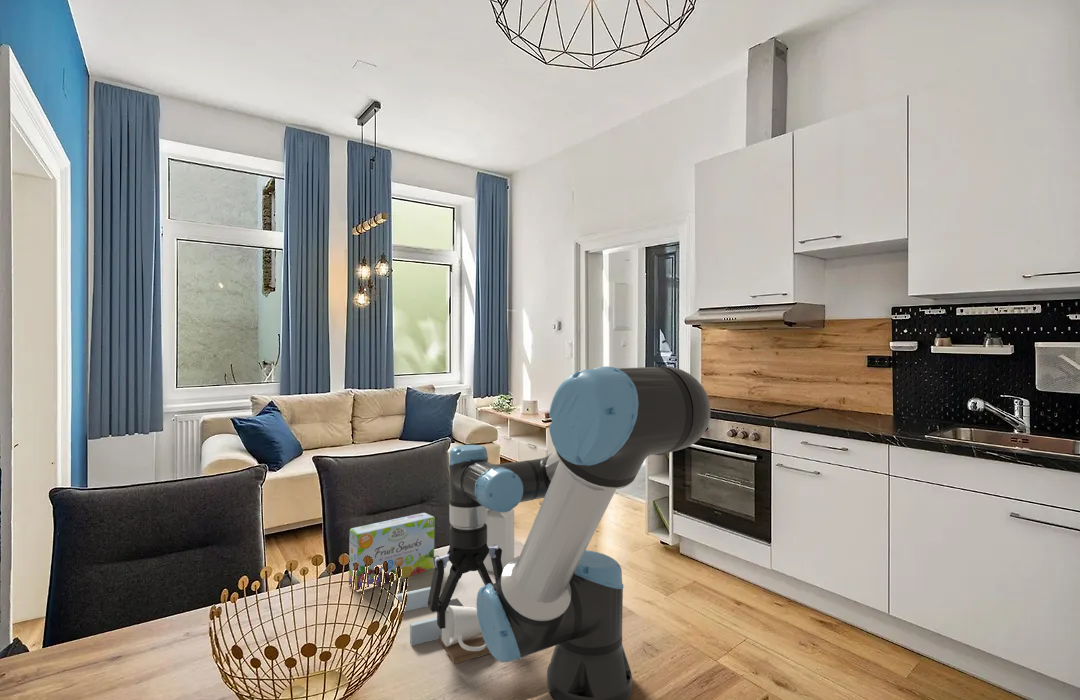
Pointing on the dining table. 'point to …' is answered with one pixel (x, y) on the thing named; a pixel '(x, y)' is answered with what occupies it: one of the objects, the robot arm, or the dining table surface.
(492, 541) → the milk carton
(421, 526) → the snack box
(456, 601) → the mat
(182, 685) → the dining table surface
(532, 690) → the dining table surface
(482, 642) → the trivet
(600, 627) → the robot arm
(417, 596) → the channel
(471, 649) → the cup
